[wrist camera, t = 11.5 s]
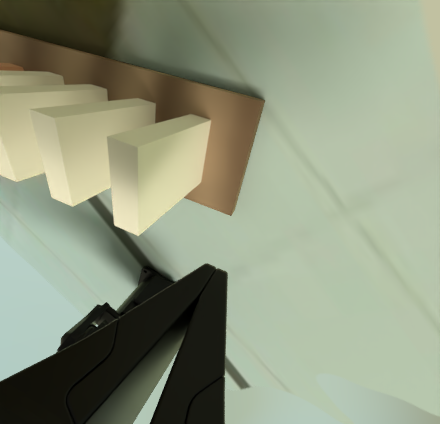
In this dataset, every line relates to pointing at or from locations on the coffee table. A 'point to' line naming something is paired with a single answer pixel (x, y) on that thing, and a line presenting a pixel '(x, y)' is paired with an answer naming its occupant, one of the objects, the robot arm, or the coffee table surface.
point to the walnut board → (159, 107)
